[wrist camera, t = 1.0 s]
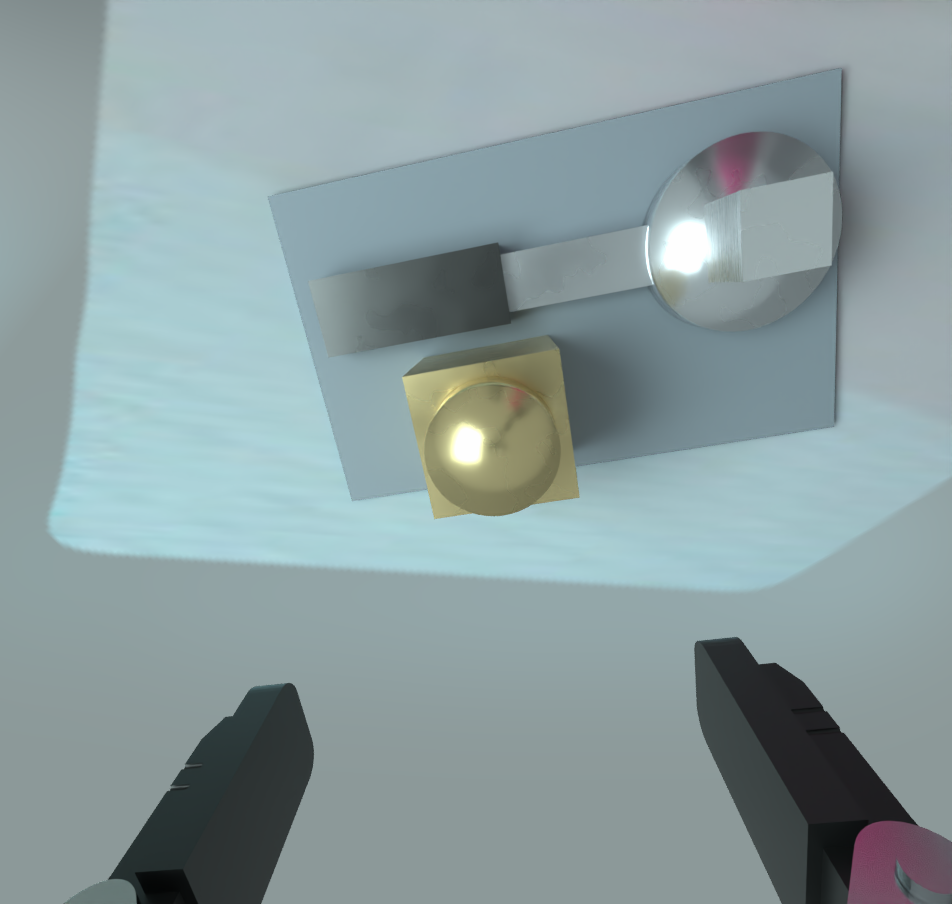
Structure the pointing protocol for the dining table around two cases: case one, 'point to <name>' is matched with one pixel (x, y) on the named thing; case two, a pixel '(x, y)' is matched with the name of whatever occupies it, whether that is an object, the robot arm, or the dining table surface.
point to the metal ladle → (624, 257)
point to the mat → (577, 321)
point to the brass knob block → (493, 428)
